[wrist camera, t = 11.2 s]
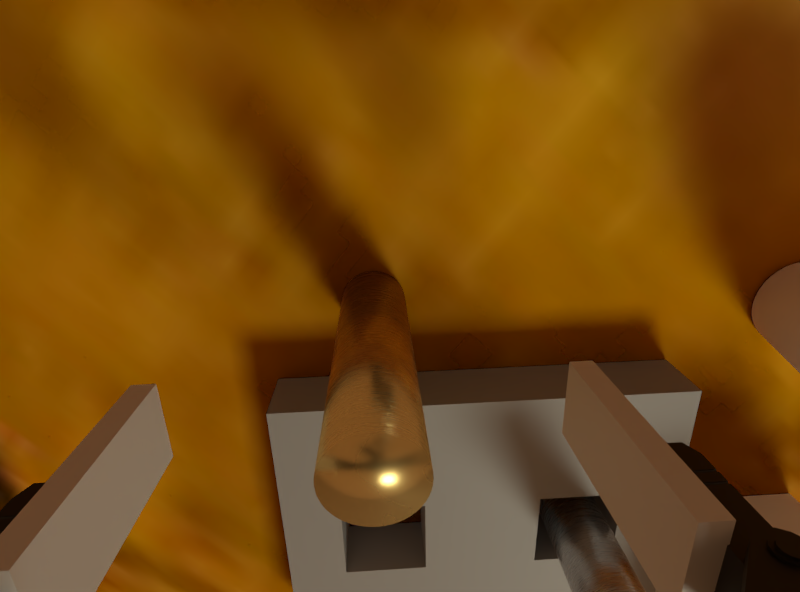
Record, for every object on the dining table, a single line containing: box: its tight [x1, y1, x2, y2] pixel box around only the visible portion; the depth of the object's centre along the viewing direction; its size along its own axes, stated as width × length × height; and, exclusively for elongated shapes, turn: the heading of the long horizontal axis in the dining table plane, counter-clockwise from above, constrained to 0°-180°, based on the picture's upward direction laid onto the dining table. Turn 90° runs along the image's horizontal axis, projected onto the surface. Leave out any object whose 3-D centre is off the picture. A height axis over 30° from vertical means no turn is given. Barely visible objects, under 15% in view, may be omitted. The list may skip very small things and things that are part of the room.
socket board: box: [266, 360, 702, 592], centre depth 27 cm, size 16×20×3 cm
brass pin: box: [314, 271, 434, 527], centre depth 18 cm, size 3×3×12 cm
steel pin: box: [539, 496, 646, 592], centre depth 23 cm, size 3×3×12 cm
